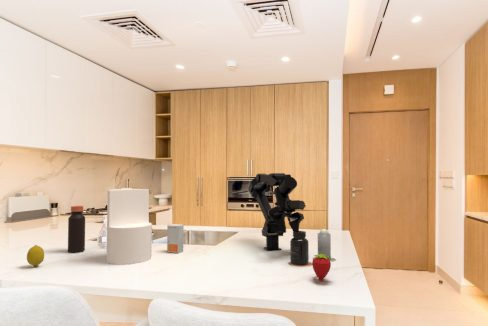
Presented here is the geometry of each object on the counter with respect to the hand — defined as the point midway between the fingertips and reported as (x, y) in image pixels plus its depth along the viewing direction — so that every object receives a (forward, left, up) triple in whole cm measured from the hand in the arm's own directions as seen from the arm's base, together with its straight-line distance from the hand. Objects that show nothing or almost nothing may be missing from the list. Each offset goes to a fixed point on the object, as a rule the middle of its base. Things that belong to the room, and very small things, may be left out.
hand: (291, 234), depth 137 cm
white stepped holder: (-19, -63, -10) cm, 67 cm away
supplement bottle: (+9, -1, -10) cm, 13 cm away
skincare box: (-26, -44, -10) cm, 52 cm away
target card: (+8, +4, -10) cm, 13 cm away
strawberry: (+29, -3, -10) cm, 30 cm away
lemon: (-17, -96, -10) cm, 98 cm away
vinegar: (-40, -86, -10) cm, 95 cm away
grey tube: (+7, +11, -9) cm, 16 cm away
